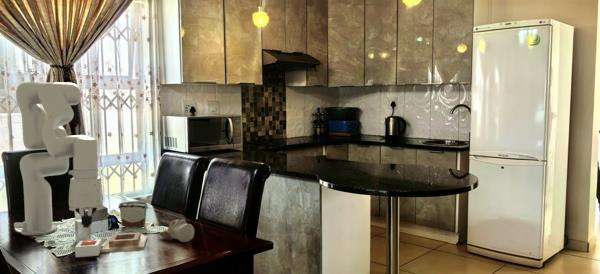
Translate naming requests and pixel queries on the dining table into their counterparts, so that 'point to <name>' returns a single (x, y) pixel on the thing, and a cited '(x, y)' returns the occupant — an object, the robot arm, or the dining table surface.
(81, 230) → the block
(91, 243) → the button
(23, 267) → the dining table surface
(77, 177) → the robot arm
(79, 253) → the button box
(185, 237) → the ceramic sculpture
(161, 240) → the dining table surface
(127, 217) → the food container
